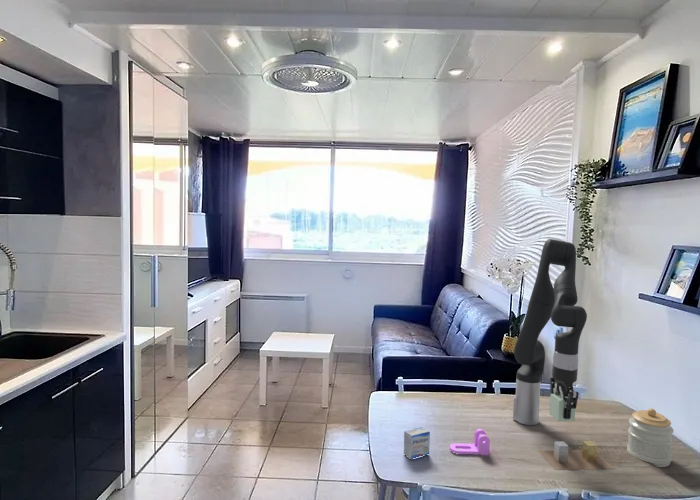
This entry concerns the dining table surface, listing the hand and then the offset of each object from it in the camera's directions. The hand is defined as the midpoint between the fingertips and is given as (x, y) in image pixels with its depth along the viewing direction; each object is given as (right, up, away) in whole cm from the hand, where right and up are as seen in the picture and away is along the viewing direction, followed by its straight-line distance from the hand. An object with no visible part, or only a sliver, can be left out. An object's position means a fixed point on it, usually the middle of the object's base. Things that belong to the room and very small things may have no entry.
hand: (561, 414), depth 153 cm
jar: (+33, -18, +6) cm, 38 cm away
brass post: (+10, -16, +2) cm, 19 cm away
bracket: (-29, -16, +9) cm, 34 cm away
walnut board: (+5, -17, +2) cm, 18 cm away
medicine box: (-48, -16, +5) cm, 51 cm away
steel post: (0, -16, +1) cm, 16 cm away
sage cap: (0, -1, 0) cm, 1 cm away
